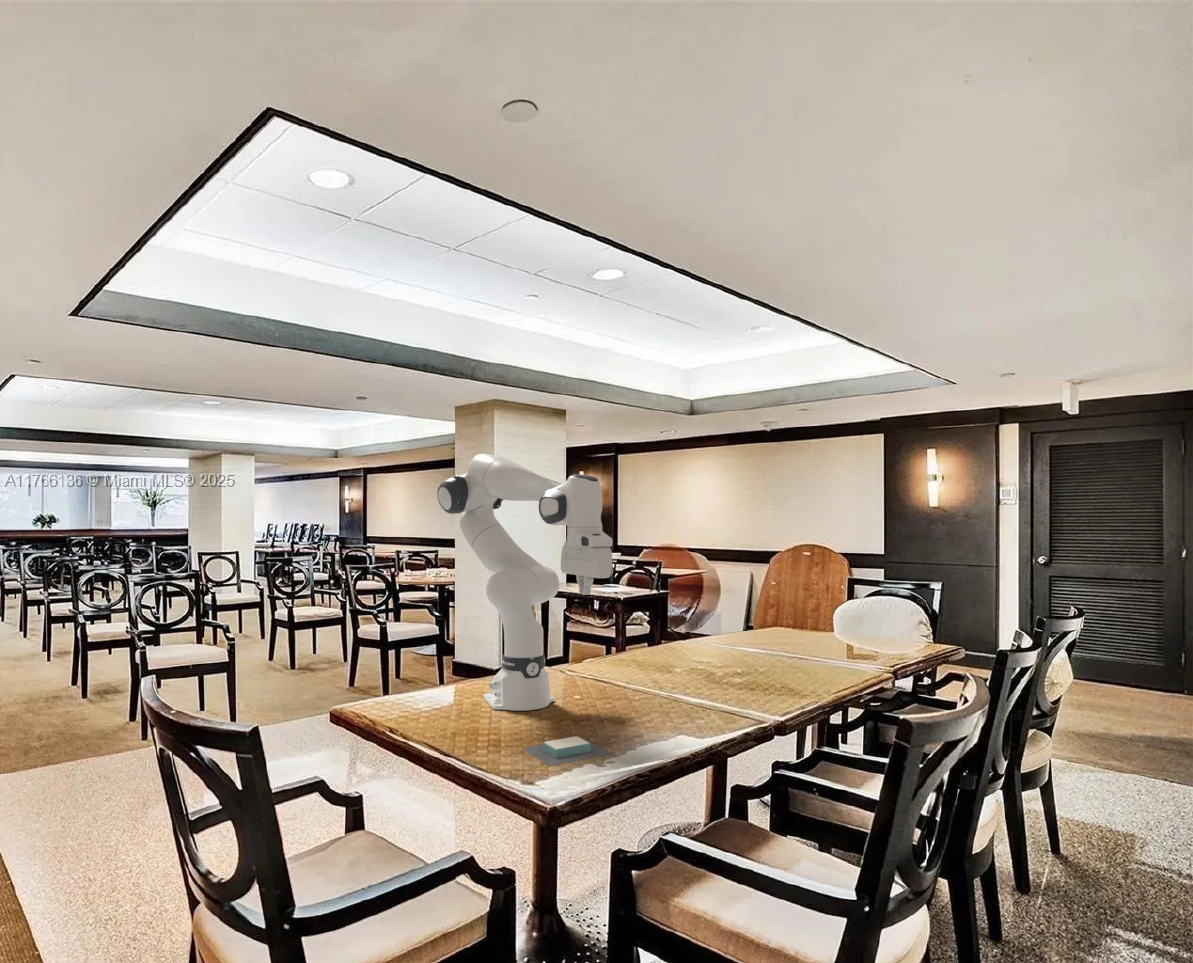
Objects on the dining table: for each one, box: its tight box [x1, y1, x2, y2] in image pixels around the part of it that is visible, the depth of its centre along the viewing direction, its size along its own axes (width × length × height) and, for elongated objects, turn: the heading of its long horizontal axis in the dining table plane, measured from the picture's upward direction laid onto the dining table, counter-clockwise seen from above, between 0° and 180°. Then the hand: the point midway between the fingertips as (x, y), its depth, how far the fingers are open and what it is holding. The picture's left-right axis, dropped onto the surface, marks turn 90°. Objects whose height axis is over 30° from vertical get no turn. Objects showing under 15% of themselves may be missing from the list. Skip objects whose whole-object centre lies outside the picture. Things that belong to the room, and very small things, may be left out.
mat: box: [522, 737, 614, 767], centre depth 172 cm, size 14×16×1 cm
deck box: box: [542, 735, 591, 758], centre depth 172 cm, size 2×9×6 cm
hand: (584, 593), depth 190 cm, fingers closed
